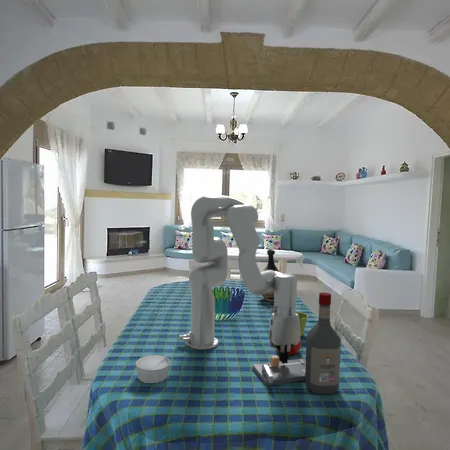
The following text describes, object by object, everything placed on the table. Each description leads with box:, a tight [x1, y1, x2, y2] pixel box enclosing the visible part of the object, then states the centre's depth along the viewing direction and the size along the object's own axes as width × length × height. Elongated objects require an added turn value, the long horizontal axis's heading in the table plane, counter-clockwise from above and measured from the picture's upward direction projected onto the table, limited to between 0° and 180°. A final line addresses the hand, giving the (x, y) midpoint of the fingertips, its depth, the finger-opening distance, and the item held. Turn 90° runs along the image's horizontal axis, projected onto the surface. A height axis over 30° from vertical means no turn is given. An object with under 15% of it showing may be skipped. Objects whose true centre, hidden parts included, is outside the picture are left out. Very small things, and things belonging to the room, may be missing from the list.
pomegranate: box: [275, 338, 302, 356], centre depth 144 cm, size 10×10×9 cm
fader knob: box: [269, 354, 280, 367], centre depth 129 cm, size 2×2×3 cm
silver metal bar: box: [262, 362, 273, 383], centre depth 121 cm, size 9×2×2 cm, turn 6°
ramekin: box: [135, 354, 171, 384], centre depth 123 cm, size 11×11×5 cm
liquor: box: [304, 292, 342, 395], centre depth 117 cm, size 9×9×30 cm
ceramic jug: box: [261, 248, 281, 302], centre depth 216 cm, size 17×15×30 cm
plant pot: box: [296, 311, 309, 337], centre depth 163 cm, size 9×9×9 cm
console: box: [252, 357, 306, 387], centre depth 127 cm, size 20×12×2 cm, turn 107°
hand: (283, 361), depth 130 cm, fingers closed
